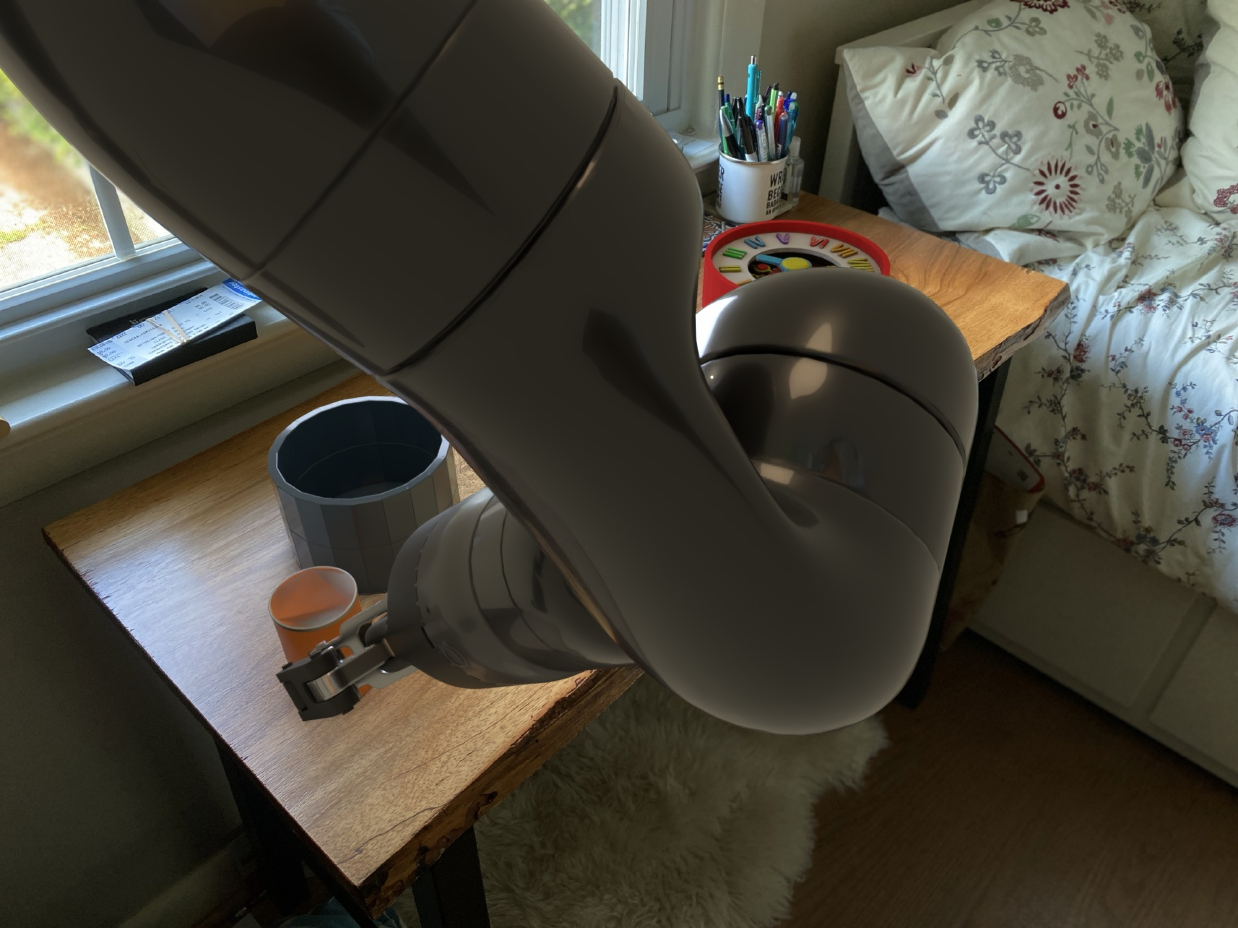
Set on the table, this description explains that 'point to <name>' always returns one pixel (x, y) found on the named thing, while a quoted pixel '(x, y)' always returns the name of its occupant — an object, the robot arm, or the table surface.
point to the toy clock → (783, 253)
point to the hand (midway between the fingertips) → (395, 623)
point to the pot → (360, 484)
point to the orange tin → (313, 610)
